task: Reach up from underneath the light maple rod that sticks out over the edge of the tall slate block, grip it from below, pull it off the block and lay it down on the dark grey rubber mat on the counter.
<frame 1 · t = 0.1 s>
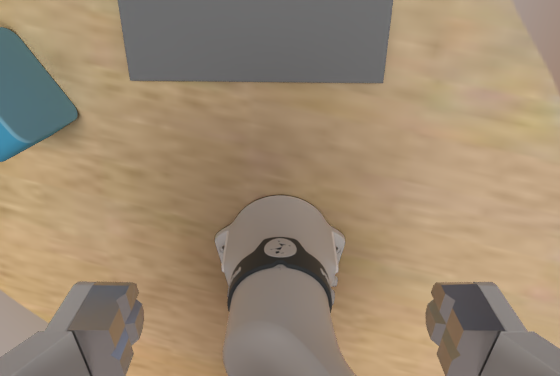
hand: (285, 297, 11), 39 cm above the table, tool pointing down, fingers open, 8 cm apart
data package: (36, 81, 46), on the table
rubber mat: (255, 2, 42), on the table
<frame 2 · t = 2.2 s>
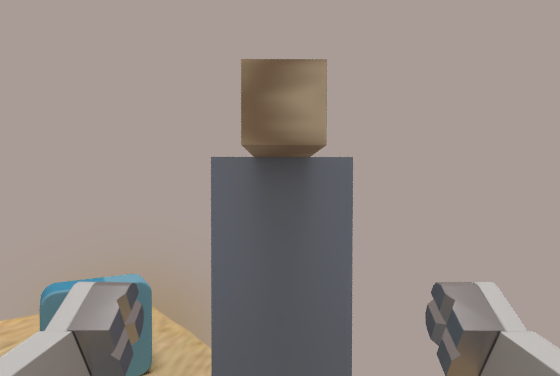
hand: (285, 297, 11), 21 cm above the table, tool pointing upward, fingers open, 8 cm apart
maple rod: (281, 158, 26), point 26 cm above the table, touching slate block
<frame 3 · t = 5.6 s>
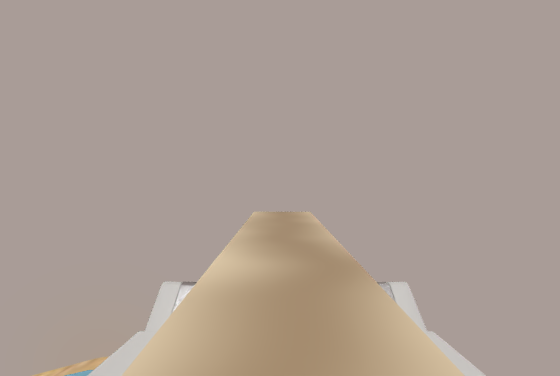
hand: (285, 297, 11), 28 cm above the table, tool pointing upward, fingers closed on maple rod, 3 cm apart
maple rod: (283, 331, 14), point 26 cm above the table, touching gripper, slate block
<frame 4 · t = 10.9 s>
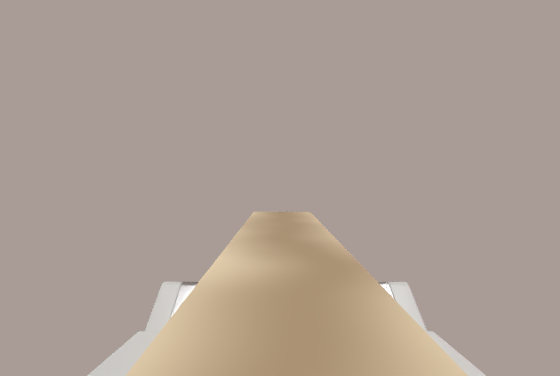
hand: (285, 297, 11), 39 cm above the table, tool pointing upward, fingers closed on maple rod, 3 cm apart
maple rod: (283, 331, 14), point 37 cm above the table, touching gripper
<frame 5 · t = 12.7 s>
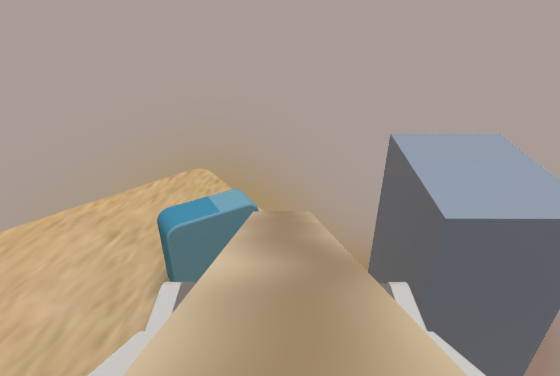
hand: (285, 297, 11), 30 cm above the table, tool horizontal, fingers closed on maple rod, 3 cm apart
maple rod: (283, 330, 14), point 27 cm above the table, tilted 30°, touching gripper
data package: (216, 278, 54), on the table
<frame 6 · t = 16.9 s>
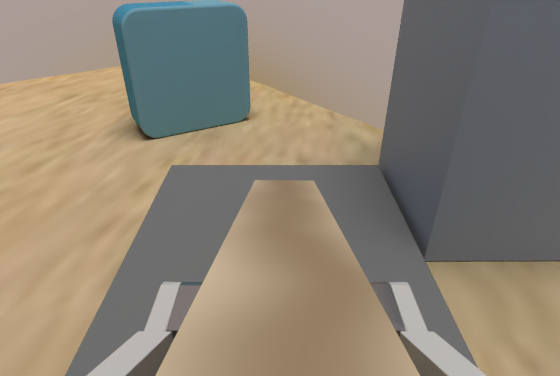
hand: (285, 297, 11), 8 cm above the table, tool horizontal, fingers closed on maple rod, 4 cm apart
maple rod: (284, 319, 13), point 5 cm above the table, tilted 22°, touching gripper
slate block: (457, 205, 28), on the table
data package: (194, 125, 42), on the table
rubber mat: (274, 322, 19), on the table
when the fingers open (7 cm above the table, at t = 17.7 s): maple rod drops 3 cm, resting on rubber mat.
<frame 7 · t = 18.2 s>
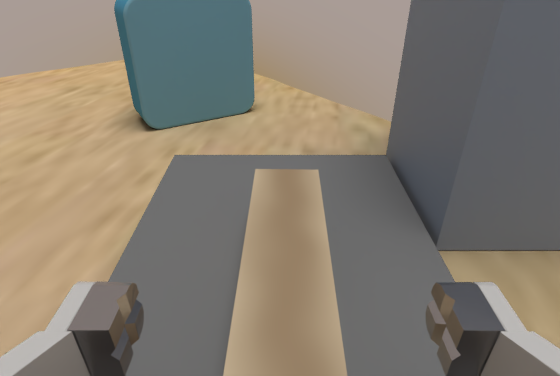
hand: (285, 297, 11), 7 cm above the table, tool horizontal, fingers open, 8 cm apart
maple rod: (284, 375, 14), point 1 cm above the table, touching rubber mat
slate block: (468, 195, 27), on the table
data package: (197, 116, 42), on the table
rubber mat: (281, 311, 18), on the table
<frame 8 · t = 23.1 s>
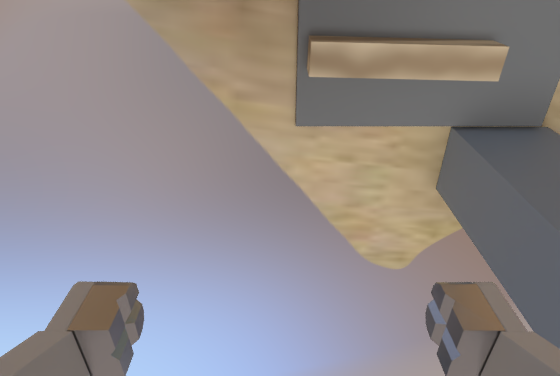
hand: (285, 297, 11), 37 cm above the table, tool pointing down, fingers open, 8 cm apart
maple rod: (398, 54, 42), point 1 cm above the table, touching rubber mat
slate block: (489, 159, 50), on the table
rubber mat: (430, 51, 43), on the table
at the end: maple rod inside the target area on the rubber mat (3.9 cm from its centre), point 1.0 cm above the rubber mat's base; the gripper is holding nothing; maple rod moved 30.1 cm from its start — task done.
